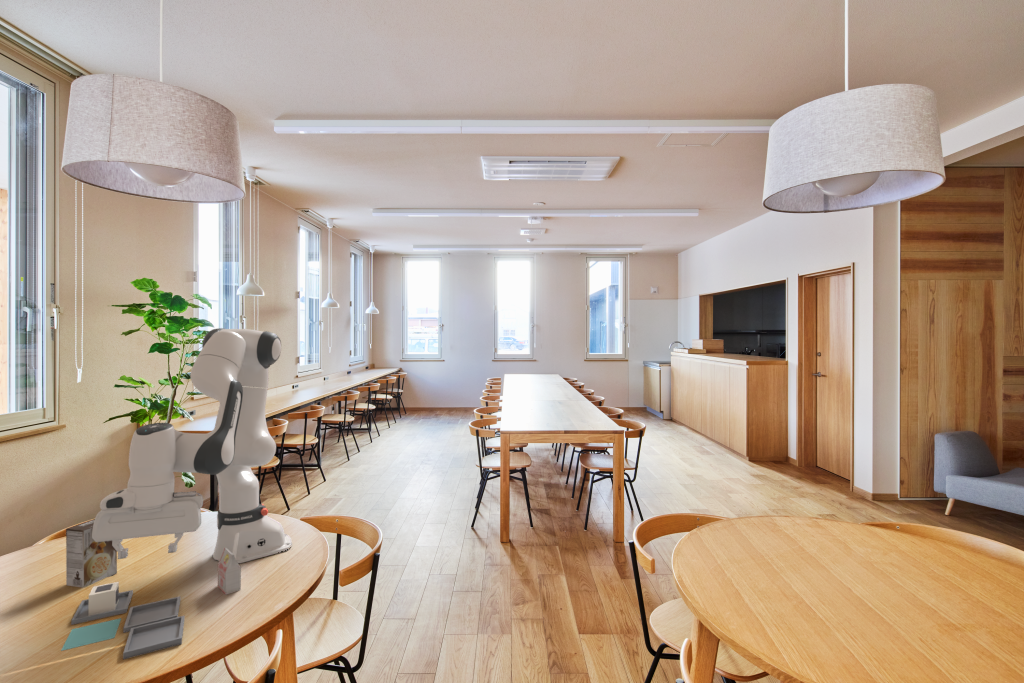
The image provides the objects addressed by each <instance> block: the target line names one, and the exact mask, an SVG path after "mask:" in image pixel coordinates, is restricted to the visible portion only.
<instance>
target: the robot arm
mask: <svg viewBox="0 0 1024 683" xmlns="http://www.w3.org/2000/svg"><path fill="white" fill-rule="evenodd" d="M201 344H202V345H201V346H202V349H201V350H200V352H198V353H199V354H198V355H197V357H196V359H195V362H194V363H193V364H192V367H191V369H190V370H191V371H190V374H189V375H190V380H191V383H192V385H193V386H194V387H195V389H197V391H199V392H200V393H201V394H203V395H205V396H207V397H209V398H211V399H214V400H215V401H218V402H219V406H218V411H217V415H216V420H215V424H214V427H213V429H212V430H211V431H210V432H208V433H197V432H196V433H193V432H192V433H191V432H183V431H180V430H177V429H175V427H174V425H173V424H172V423H168V422H155V423H149V424H145V425H142V426H140V427H138V428H136V429H135V430H134V432H133V433H132V437H131V440H130V446H129V451H128V452H129V453H128V469H129V472H130V473H129V474H130V475H129V478H128V480H127V488H123V489H120V490H118V491H115V492H112V493H110V494H108V495H106V496H105V497H104V498H102V499H101V501H100V503H99V508H100V511H98V512H97V514H96V515H95V518H94V519H95V520H94V525H93V531H92V538H93V539H94V541H96V542H102V541H111V540H112V546H113V547H114V548H115V550H116V551H117V560H122V559H127V557H128V556H129V548H127V547H126V548H124V546H123V545H122V542H123V541H124V540H126V539H128V540H131V539H139V538H146V537H148V538H149V537H157V536H165V535H174V538H175V541H174V542H170V543H169V545H168V551H167V553H168V554H173V553H177V551H178V543H179V542H180V540H181V539H182V537H183V536H184V533H193V532H197V530H198V529H199V528H200V527H201V525H202V510H201V508H202V507H203V505H204V496H203V495H202V494H201V493H199V492H197V491H195V490H193V491H192V490H191V491H187V492H186V491H180V492H177V491H176V492H175V484H176V483H175V481H176V477H175V473H192V474H193V473H195V474H197V473H198V474H204V475H211V476H216V478H217V483H218V494H219V496H218V497H219V498H218V499H219V500H218V502H219V506H218V507H219V509H218V510H217V514H216V527H217V537H216V543H215V548H214V551H213V554H212V558H213V559H214V560H215V561H218V562H219V561H220V559H221V557H222V554H223V552H224V548H227V549H228V550H229V551H230V552H231V553H232V554H233V555H234V557H235V559H236V561H237V563H238V564H242V563H245V562H250V561H253V560H257V559H261V558H263V557H267V556H272V555H274V554H279V553H282V552H281V551H283V552H286V551H288V550H289V549H288V548H290V546H291V545H292V546H293V540H292V538H291V536H290V535H289V534H287V533H285V530H284V527H283V525H282V523H281V522H280V521H278V520H276V519H274V518H272V517H270V515H268V514H269V510H268V508H267V506H266V505H265V504H264V503H260V481H259V479H258V477H257V475H255V474H254V472H253V470H252V468H255V467H262V466H265V465H267V464H269V463H270V462H271V461H272V460H273V459H274V457H275V454H276V452H277V444H276V441H275V439H274V438H273V437H272V435H271V434H270V431H269V428H268V425H267V420H266V405H267V397H268V387H269V381H270V380H269V379H270V378H269V375H270V366H271V365H273V364H274V363H276V362H277V361H278V360H279V358H280V357H281V352H282V341H281V338H280V337H279V336H278V335H277V333H275V332H271V331H268V330H266V331H265V330H264V331H262V330H257V329H252V328H251V329H250V328H222V327H220V328H219V327H218V328H214V329H211V330H209V331H208V332H207V333H206V334H205V335H204V337H203V340H202V343H201ZM292 546H291V547H292ZM287 549H288V550H287ZM290 549H291V548H290ZM285 550H286V551H285ZM278 552H279V553H278Z"/></svg>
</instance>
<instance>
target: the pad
mask: <svg viewBox="0 0 1024 683" xmlns="http://www.w3.org/2000/svg"><path fill="white" fill-rule="evenodd" d="M121 620H122V617H121V618H120V617H119V618H116V619H112V620H107V621H102V622H98V623H94V624H89V625H84V626H81V627H77V628H72V629H71V631H70V632H69V634H68V636H67V638H66V640H65V642H64V643H63V645H62V648H61V649H60V651H61V652H62V651H68V650H70V649H75V648H78V647H83V646H87V645H91V644H92V645H93V644H95V643H96V644H97V643H99V642H103V641H109V640H112V639H115V638H116V634H117V631H118V629H119V626H120V624H121Z"/></svg>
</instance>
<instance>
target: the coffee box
mask: <svg viewBox="0 0 1024 683" xmlns="http://www.w3.org/2000/svg"><path fill="white" fill-rule="evenodd" d="M94 520H95V518H93V519H91V520H88V521H84V522H82V523H79V524H76V525H73V526H71V527H66V528H65V531H66V532H65V533H66V534H65V536H66V537H65V538H66V539H65V545H66V546H65V549H66V550H65V553H66V555H65V558H66V560H65V562H66V563H65V564H66V566H65V567H66V568H65V571H66V574H65V575H66V577H65V578H66V580H65V581H66V582H65V583H66V586H71V587H76V588H86V587H88V586H90V585H92V584H95V583H97V582H100V581H102V580H103V579H106V578H110V577H112V576H114V575H117V574H118V567H117V566H118V561H117V560H118V552H117V551H116V550H115V548H114V547H113V546H112V540H111V541H102V542H96V541H94V539H93V538H92V531H93V525H94Z"/></svg>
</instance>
